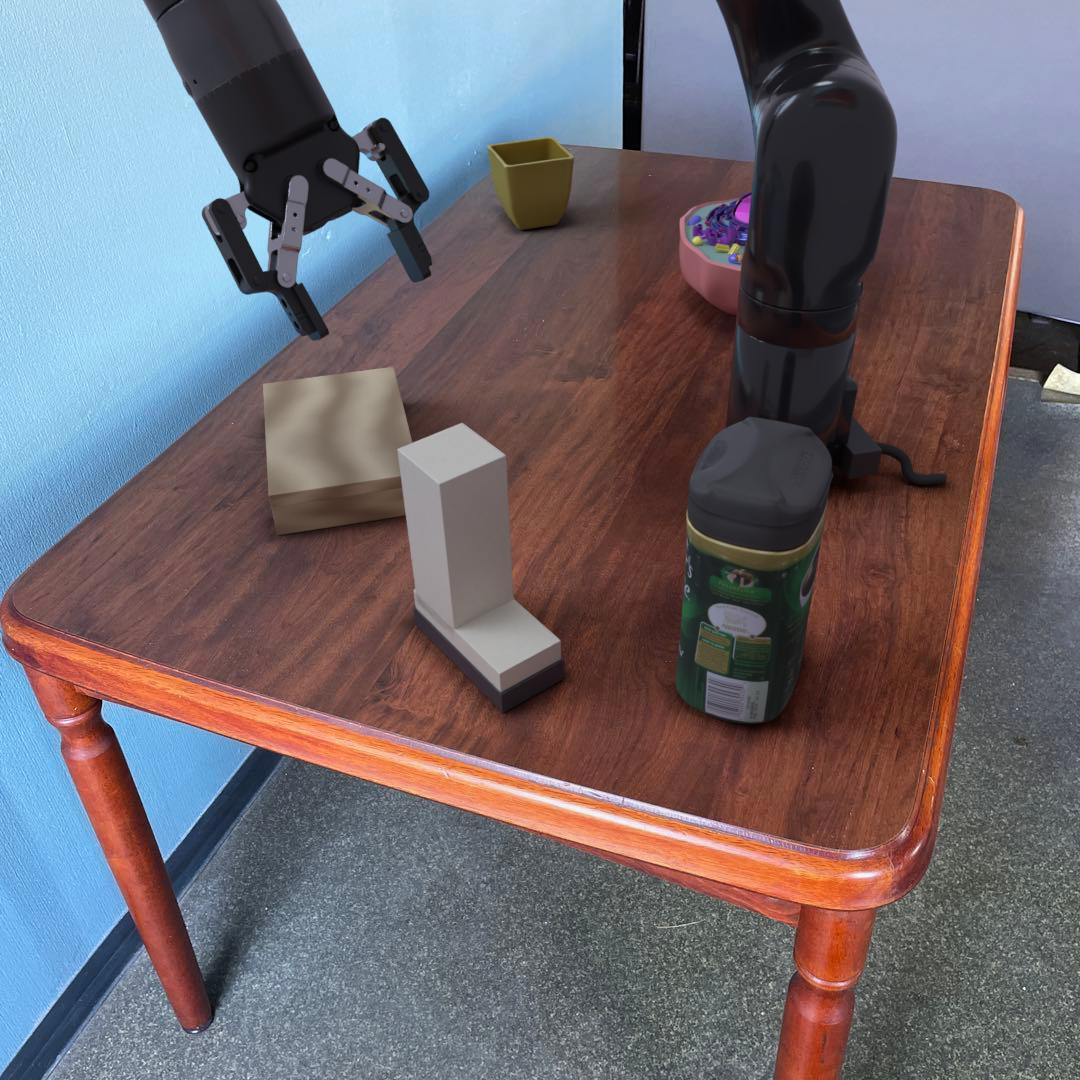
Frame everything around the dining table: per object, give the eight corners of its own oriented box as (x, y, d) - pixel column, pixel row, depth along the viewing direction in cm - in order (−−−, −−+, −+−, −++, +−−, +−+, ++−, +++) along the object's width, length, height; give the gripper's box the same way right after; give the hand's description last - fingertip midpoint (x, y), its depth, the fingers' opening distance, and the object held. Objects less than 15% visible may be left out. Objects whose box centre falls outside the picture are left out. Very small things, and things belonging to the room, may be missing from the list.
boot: (415, 624, 78) (391, 445, 68) (474, 595, 80) (459, 418, 71) (502, 713, 71) (489, 528, 61) (564, 678, 73) (561, 494, 64)
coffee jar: (701, 617, 78) (721, 395, 66) (810, 646, 75) (850, 419, 64) (658, 710, 71) (672, 479, 59) (777, 744, 68) (816, 510, 57)
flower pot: (490, 214, 139) (486, 143, 133) (554, 204, 141) (552, 135, 135) (508, 239, 132) (505, 166, 127) (575, 229, 134) (575, 157, 129)
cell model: (652, 334, 112) (657, 229, 105) (694, 257, 127) (700, 161, 120) (817, 355, 108) (833, 248, 101) (840, 273, 122) (855, 174, 115)
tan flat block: (398, 403, 102) (393, 366, 100) (424, 512, 89) (420, 473, 86) (270, 420, 101) (262, 383, 98) (277, 535, 87) (268, 495, 84)
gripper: (159, 102, 61) (304, 356, 67) (361, 11, 66) (479, 253, 72) (134, 131, 67) (268, 361, 73) (320, 47, 73) (431, 267, 79)
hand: (373, 307), depth 73 cm, fingers open, 8 cm apart
